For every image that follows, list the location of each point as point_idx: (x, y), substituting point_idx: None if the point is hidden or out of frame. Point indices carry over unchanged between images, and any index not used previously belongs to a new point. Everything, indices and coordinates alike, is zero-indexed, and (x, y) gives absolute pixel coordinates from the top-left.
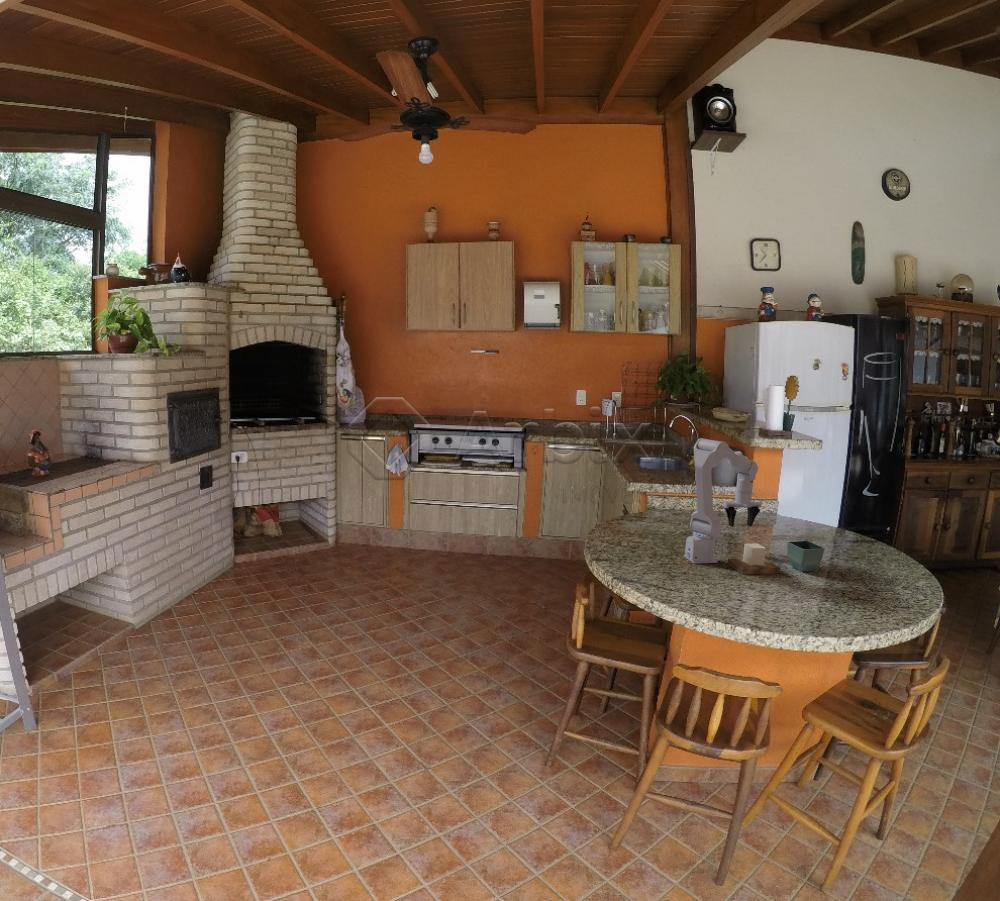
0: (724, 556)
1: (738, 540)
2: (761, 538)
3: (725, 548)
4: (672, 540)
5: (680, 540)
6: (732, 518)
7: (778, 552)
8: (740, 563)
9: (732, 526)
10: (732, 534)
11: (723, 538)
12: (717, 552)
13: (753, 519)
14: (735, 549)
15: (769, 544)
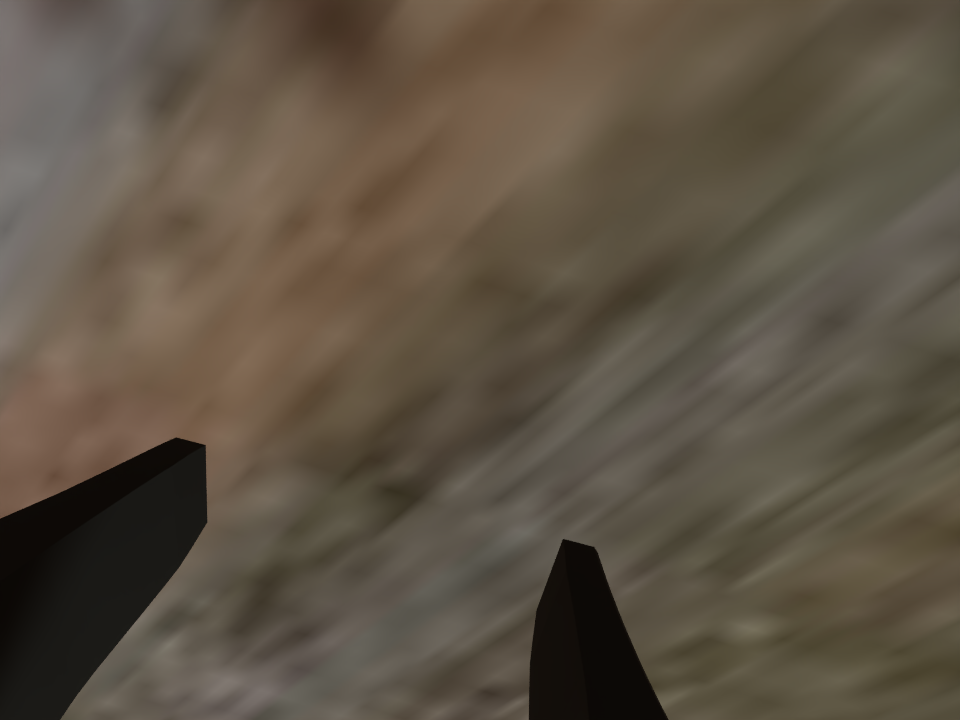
0: (841, 194)
1: (263, 518)
2: (21, 484)
3: (568, 405)
4: (878, 713)
5: (804, 689)
6: (657, 715)
7: (44, 102)
8: None
9: (584, 547)
10: (221, 625)
11: (366, 593)
12: (781, 338)
13: (44, 517)
14: (483, 346)
15: (22, 345)
